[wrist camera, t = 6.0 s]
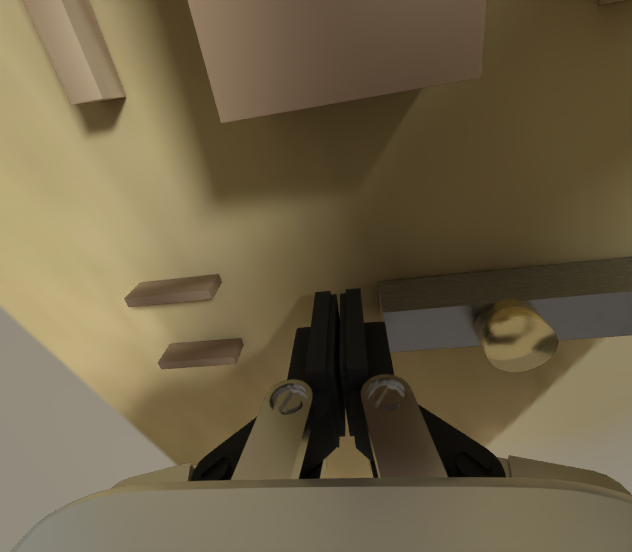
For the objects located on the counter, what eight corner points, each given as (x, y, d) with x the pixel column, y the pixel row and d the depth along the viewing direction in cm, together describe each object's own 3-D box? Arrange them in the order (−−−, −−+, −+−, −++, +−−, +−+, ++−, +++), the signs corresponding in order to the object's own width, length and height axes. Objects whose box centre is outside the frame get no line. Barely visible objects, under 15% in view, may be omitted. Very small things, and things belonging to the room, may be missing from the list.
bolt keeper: (218, 274, 14) (208, 290, 13) (243, 345, 16) (236, 364, 14) (140, 282, 14) (124, 298, 13) (173, 350, 16) (161, 369, 15)
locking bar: (735, 244, 11) (860, 296, 9) (710, 293, 12) (815, 354, 10) (377, 279, 13) (386, 333, 10) (380, 320, 14) (390, 379, 11)
